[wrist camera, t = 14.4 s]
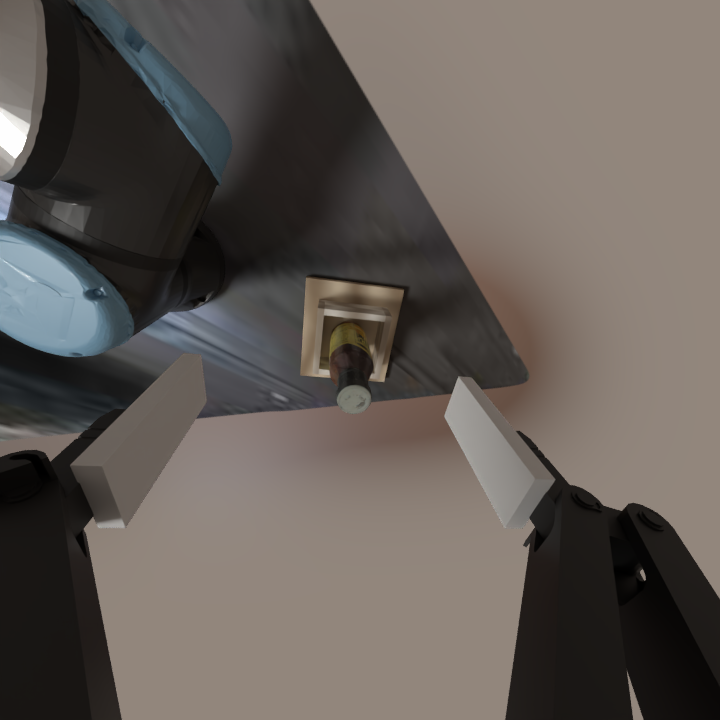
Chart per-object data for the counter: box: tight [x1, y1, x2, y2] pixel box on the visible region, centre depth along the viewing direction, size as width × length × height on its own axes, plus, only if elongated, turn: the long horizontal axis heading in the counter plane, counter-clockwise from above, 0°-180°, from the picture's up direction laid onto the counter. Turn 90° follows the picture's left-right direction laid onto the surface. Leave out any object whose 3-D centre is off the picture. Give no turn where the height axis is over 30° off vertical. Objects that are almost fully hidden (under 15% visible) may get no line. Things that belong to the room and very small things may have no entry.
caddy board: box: [301, 276, 404, 382], centre depth 48 cm, size 16×18×6 cm
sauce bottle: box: [329, 322, 374, 414], centre depth 41 cm, size 6×6×20 cm
